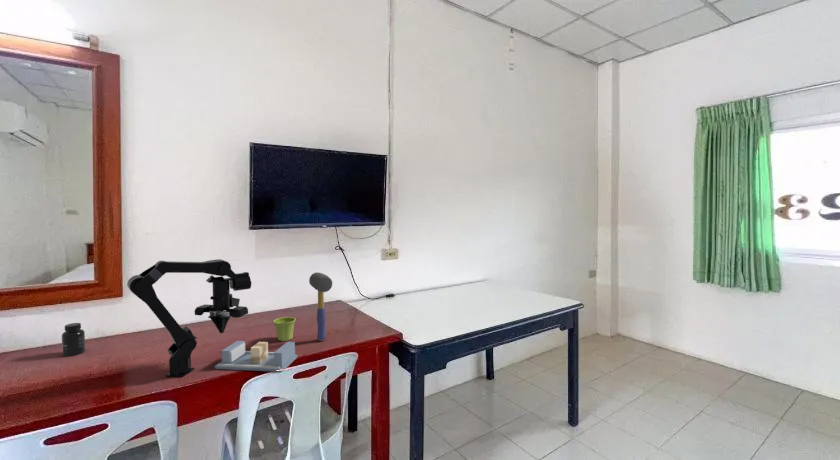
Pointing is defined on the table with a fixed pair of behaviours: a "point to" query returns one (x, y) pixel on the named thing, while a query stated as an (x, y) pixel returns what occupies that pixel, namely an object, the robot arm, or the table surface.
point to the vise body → (272, 363)
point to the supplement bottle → (73, 340)
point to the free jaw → (233, 352)
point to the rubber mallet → (321, 300)
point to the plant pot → (284, 328)
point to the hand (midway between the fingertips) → (221, 332)
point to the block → (259, 352)
